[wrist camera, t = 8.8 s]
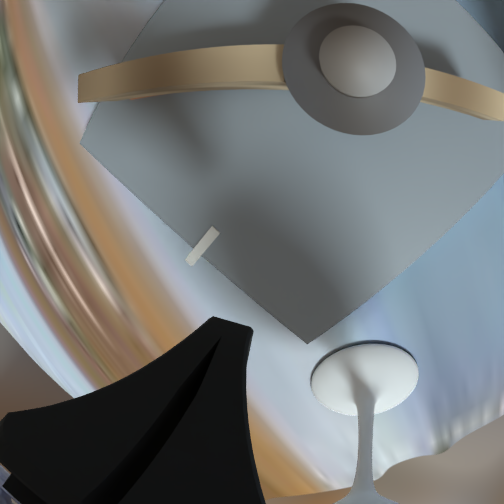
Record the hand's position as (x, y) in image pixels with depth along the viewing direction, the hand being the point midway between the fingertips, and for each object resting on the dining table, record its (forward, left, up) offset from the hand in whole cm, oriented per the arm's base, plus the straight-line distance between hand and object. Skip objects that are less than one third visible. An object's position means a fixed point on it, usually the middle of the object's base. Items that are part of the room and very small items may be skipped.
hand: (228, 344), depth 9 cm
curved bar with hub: (+5, -7, -8) cm, 12 cm away
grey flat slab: (+4, -7, -9) cm, 12 cm away
